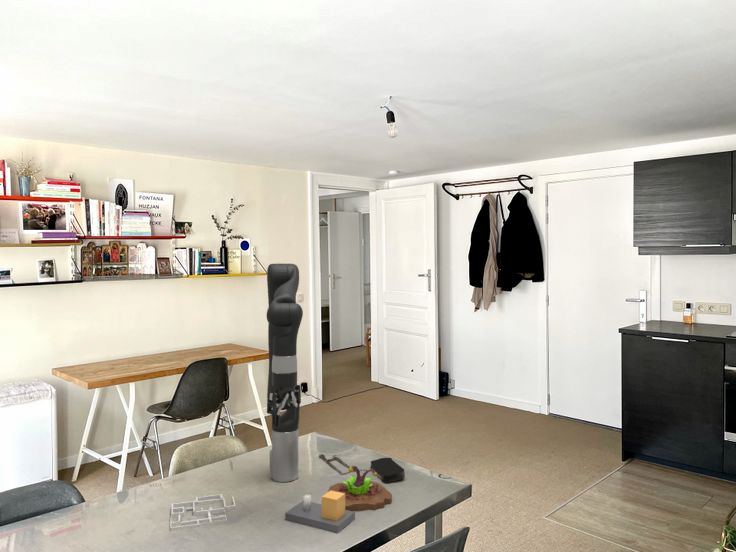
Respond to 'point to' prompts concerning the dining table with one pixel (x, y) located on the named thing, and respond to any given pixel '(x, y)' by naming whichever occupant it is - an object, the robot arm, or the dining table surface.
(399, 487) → the dining table surface
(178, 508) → the floor plan model
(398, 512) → the dining table surface
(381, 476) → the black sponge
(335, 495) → the pale orange cube
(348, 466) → the hacksaw
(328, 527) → the board
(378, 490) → the plant
